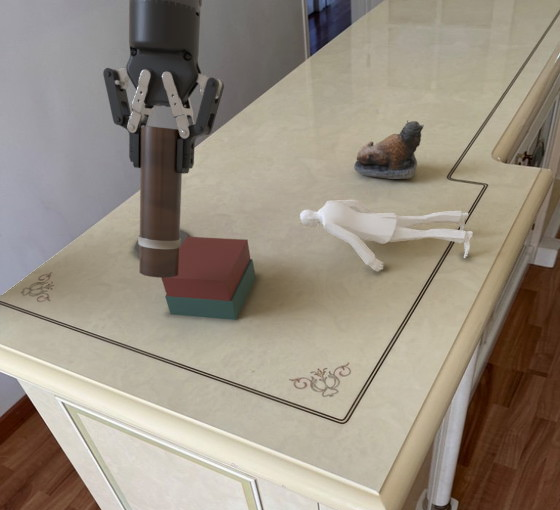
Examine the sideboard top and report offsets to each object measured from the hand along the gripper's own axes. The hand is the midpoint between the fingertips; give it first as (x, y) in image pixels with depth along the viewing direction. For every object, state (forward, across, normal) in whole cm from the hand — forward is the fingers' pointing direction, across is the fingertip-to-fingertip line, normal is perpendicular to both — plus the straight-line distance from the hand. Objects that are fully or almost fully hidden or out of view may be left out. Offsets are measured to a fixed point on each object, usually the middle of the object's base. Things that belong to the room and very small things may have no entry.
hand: (161, 169), depth 69 cm
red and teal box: (+18, +3, +12) cm, 22 cm away
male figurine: (+9, +26, +25) cm, 37 cm away
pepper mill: (+9, 0, +5) cm, 11 cm away
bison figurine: (0, +24, +46) cm, 52 cm away
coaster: (+14, -10, +23) cm, 29 cm away
